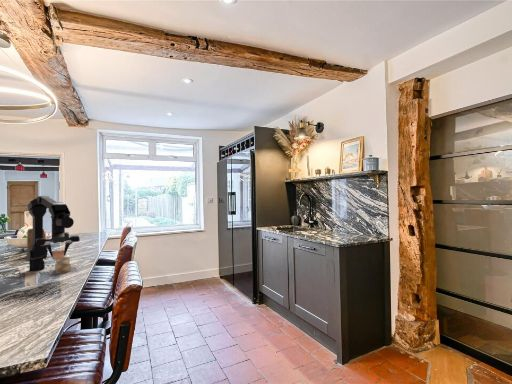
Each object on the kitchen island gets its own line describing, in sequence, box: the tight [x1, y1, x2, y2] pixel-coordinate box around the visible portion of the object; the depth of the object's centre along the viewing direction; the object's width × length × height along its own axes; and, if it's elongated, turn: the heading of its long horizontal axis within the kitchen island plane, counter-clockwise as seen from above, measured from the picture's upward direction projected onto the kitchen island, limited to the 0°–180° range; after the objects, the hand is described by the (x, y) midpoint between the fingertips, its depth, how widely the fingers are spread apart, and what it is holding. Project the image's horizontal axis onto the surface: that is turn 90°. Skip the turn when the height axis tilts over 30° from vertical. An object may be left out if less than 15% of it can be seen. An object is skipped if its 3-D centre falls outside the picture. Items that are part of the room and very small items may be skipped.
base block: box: [54, 262, 72, 273], centre depth 161 cm, size 7×7×4 cm
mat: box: [48, 266, 78, 276], centre depth 161 cm, size 13×13×1 cm
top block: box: [55, 254, 71, 265], centre depth 161 cm, size 6×6×4 cm
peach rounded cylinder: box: [51, 249, 65, 261], centre depth 149 cm, size 5×5×4 cm
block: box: [26, 227, 47, 253], centre depth 203 cm, size 11×8×20 cm
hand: (58, 256), depth 149 cm, fingers closed on peach rounded cylinder, 5 cm apart
